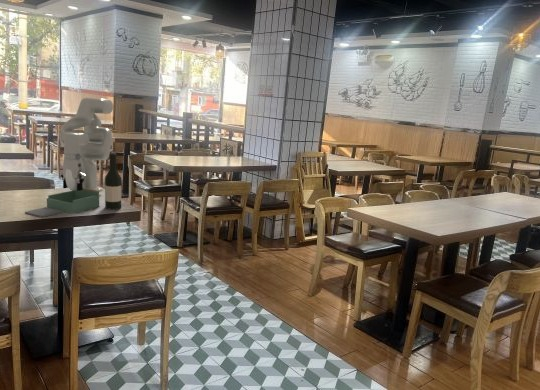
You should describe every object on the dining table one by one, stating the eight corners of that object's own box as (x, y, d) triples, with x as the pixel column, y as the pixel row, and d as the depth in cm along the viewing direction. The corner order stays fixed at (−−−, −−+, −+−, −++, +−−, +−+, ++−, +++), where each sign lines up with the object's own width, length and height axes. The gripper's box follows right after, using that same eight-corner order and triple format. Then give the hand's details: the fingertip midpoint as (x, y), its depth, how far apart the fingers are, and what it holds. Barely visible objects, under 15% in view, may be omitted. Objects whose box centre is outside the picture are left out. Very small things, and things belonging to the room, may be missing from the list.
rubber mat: (45, 208, 226) (45, 207, 226) (62, 212, 222) (62, 210, 222) (24, 213, 216) (24, 211, 215) (42, 217, 211) (42, 215, 211)
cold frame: (74, 201, 245) (74, 186, 243) (99, 206, 238) (99, 190, 236) (46, 207, 228) (46, 191, 226) (72, 213, 221) (72, 196, 219)
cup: (67, 209, 228) (66, 170, 224) (64, 206, 234) (63, 167, 229) (82, 208, 232) (81, 169, 228) (79, 205, 238) (78, 167, 233)
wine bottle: (120, 209, 234) (119, 154, 228) (103, 209, 233) (103, 153, 227) (122, 205, 242) (122, 152, 236) (106, 205, 241) (106, 151, 235)
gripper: (90, 158, 227) (90, 190, 230) (65, 154, 234) (66, 186, 237) (79, 159, 220) (79, 192, 224) (54, 155, 227) (54, 187, 230)
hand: (72, 189), depth 230 cm, fingers open, 9 cm apart
